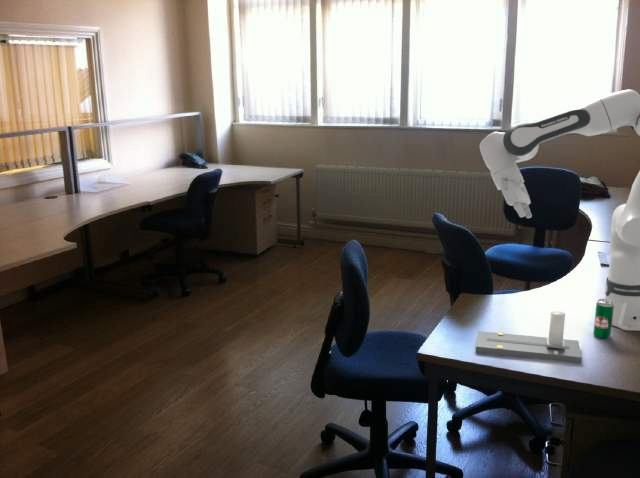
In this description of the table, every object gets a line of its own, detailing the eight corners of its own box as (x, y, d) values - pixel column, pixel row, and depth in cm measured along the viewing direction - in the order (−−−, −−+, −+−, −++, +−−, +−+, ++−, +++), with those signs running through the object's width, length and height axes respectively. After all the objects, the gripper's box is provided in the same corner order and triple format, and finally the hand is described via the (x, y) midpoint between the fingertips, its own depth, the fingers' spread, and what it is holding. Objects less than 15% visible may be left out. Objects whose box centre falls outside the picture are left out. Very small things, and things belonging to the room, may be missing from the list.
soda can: (590, 336, 203) (594, 301, 200) (597, 331, 207) (600, 297, 203) (606, 341, 200) (610, 305, 197) (613, 336, 203) (616, 300, 200)
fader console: (577, 346, 196) (578, 339, 196) (581, 363, 185) (581, 356, 184) (477, 336, 205) (478, 330, 204) (475, 352, 194) (475, 345, 193)
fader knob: (563, 341, 193) (566, 311, 191) (564, 348, 189) (567, 317, 186) (546, 340, 195) (548, 309, 192) (546, 346, 190) (549, 315, 188)
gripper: (509, 172, 199) (528, 211, 196) (523, 177, 217) (541, 213, 214) (491, 181, 202) (509, 220, 199) (506, 185, 220) (524, 222, 217)
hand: (526, 217), depth 207 cm, fingers open, 8 cm apart
